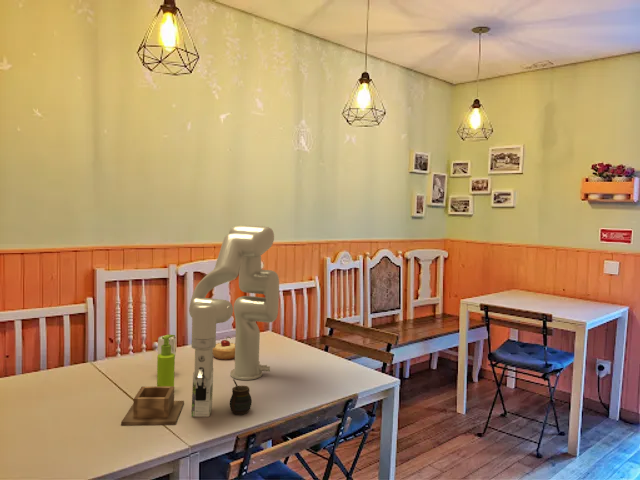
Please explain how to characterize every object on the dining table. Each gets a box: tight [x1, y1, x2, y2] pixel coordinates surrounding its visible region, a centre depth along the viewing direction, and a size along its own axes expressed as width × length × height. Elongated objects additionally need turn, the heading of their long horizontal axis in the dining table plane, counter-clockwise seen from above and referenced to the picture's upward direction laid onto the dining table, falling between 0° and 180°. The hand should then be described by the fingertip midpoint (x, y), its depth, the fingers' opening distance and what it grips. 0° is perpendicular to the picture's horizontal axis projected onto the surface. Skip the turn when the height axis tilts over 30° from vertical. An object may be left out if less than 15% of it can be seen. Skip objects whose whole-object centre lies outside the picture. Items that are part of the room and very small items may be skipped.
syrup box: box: [191, 368, 214, 418], centre depth 159 cm, size 6×6×14 cm
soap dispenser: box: [156, 334, 176, 387], centre depth 177 cm, size 6×7×20 cm
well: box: [120, 385, 185, 426], centre depth 158 cm, size 16×16×7 cm
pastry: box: [213, 336, 235, 361], centre depth 219 cm, size 12×12×9 cm
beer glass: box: [157, 335, 177, 376], centre depth 193 cm, size 7×7×15 cm
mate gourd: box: [229, 378, 252, 416], centre depth 162 cm, size 7×8×10 cm
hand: (202, 394), depth 159 cm, fingers open, 9 cm apart
